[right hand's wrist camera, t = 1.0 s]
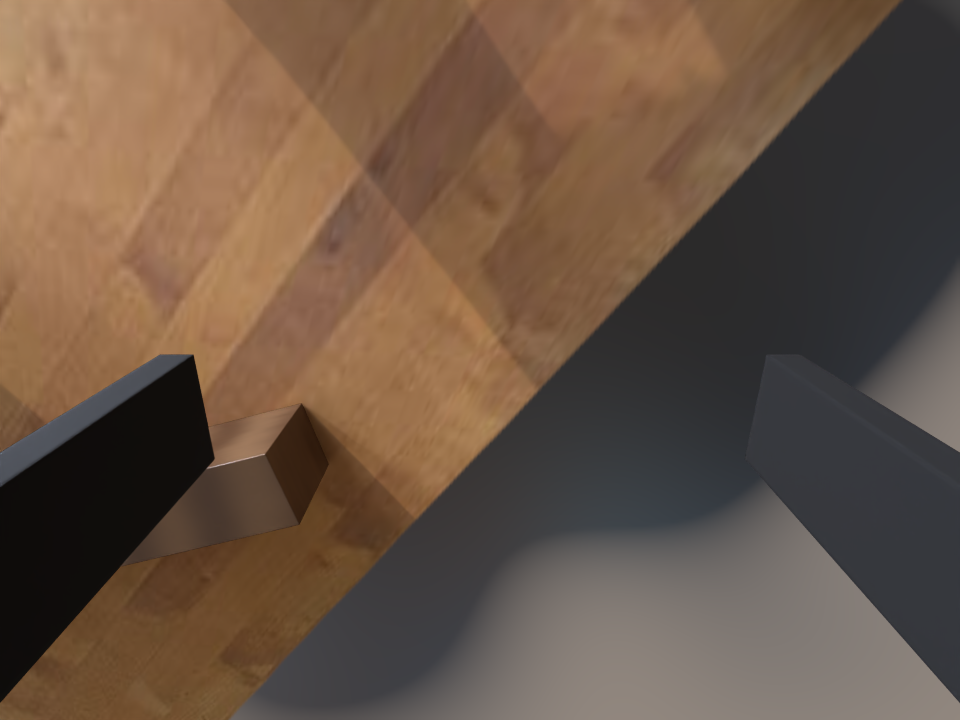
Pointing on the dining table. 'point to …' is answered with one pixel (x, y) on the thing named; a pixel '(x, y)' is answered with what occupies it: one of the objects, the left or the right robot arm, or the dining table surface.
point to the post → (244, 485)
